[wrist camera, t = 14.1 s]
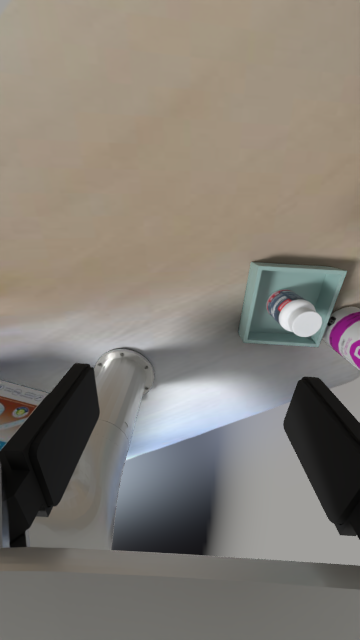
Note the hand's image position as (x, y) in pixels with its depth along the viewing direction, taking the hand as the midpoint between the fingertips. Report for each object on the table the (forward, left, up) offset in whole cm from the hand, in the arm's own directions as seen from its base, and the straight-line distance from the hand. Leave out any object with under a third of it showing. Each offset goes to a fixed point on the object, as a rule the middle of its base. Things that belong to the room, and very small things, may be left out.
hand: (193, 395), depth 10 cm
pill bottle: (-4, -17, -28) cm, 33 cm away
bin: (-4, -17, -28) cm, 33 cm away
